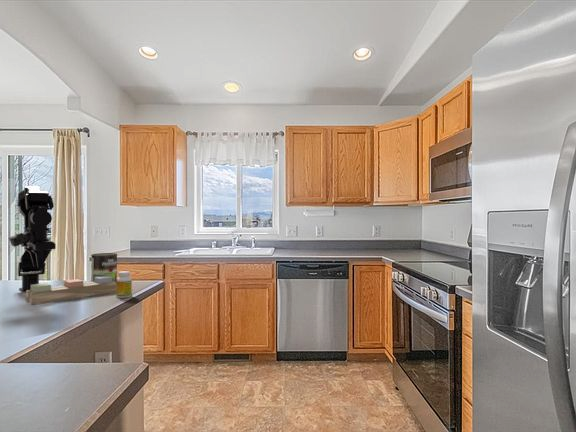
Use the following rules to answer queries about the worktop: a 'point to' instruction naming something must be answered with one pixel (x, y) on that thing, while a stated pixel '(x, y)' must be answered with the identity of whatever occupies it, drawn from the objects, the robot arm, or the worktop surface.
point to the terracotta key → (73, 283)
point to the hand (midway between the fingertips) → (37, 267)
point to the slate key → (102, 279)
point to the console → (69, 292)
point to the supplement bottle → (124, 285)
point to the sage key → (40, 287)
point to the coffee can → (104, 265)
